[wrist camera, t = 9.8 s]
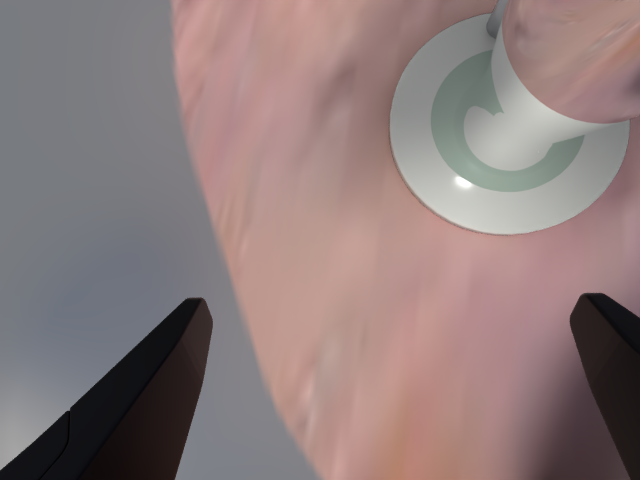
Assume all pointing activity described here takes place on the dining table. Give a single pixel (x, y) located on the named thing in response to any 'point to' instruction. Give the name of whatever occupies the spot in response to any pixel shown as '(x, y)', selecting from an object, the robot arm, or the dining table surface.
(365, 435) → the dining table surface
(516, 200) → the grey peg stand
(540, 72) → the beer glass
